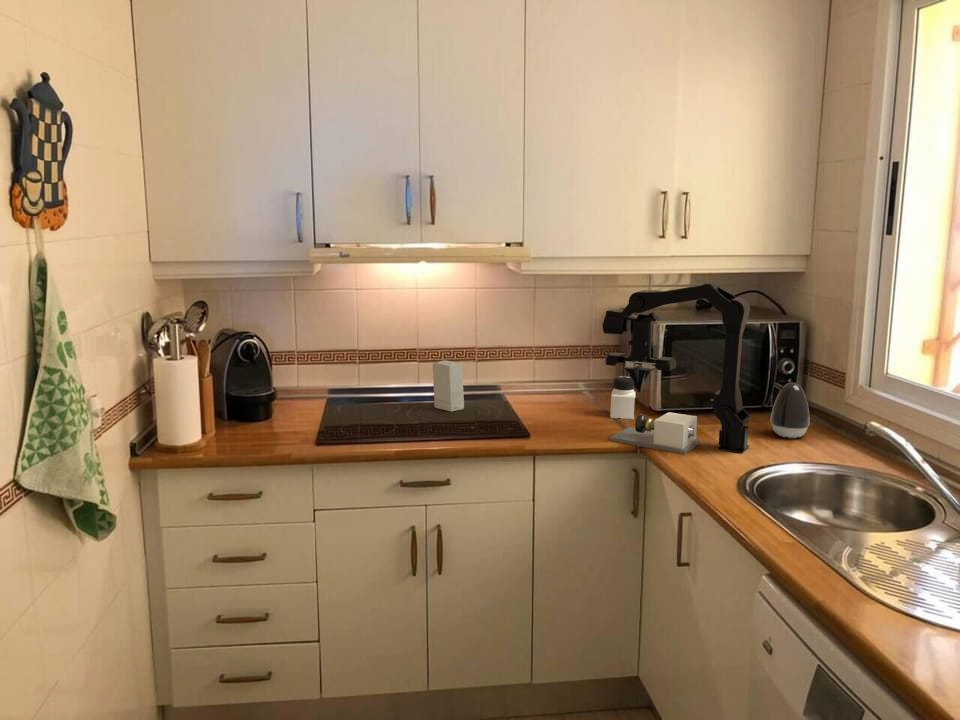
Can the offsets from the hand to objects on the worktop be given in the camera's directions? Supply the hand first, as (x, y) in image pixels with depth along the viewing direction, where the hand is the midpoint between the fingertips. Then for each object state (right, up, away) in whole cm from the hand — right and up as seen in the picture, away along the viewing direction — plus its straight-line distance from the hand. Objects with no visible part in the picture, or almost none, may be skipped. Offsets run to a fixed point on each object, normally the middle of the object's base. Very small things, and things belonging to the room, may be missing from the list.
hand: (639, 391), depth 223 cm
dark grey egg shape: (+42, -13, +1) cm, 44 cm away
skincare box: (-54, -7, +29) cm, 62 cm away
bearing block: (+3, -13, -5) cm, 15 cm away
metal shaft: (+6, -12, -7) cm, 15 cm away
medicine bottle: (-1, -8, +21) cm, 23 cm away
